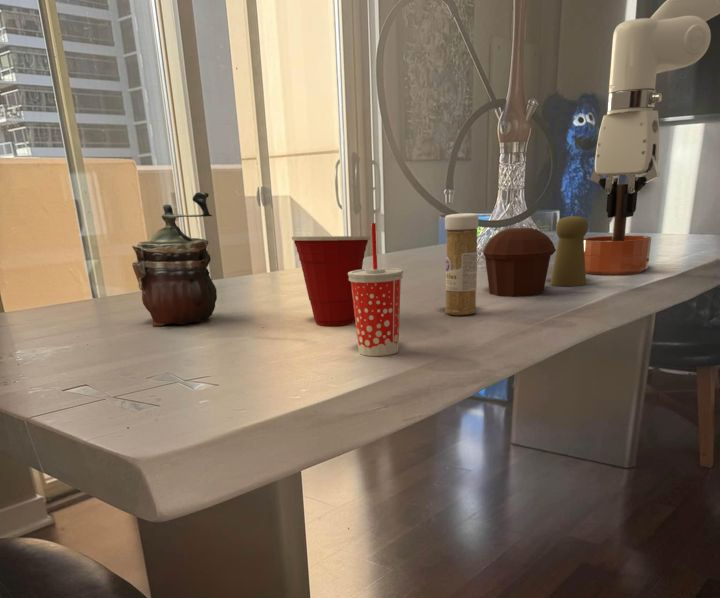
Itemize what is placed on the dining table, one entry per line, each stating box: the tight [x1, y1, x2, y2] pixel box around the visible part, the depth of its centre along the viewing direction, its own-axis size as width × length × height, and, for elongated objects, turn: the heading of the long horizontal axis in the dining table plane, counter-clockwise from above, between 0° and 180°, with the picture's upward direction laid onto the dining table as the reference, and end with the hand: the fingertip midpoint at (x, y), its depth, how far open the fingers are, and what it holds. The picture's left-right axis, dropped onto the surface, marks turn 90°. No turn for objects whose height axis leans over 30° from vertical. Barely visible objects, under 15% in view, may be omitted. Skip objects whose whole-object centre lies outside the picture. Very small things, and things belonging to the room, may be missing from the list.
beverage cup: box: [348, 222, 404, 357], centre depth 77 cm, size 6×6×14 cm
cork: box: [549, 215, 589, 287], centre depth 119 cm, size 6×6×11 cm
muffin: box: [482, 227, 557, 297], centre depth 113 cm, size 12×11×10 cm
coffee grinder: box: [131, 191, 218, 327], centre depth 101 cm, size 13×15×18 cm
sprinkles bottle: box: [444, 212, 479, 317], centre depth 97 cm, size 5×5×13 cm
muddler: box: [611, 183, 628, 241], centre depth 128 cm, size 4×4×14 cm
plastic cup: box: [291, 235, 371, 327], centre depth 96 cm, size 11×11×12 cm
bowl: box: [584, 235, 652, 276], centre depth 132 cm, size 12×12×6 cm
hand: (620, 216), depth 128 cm, fingers closed on muddler, 2 cm apart
